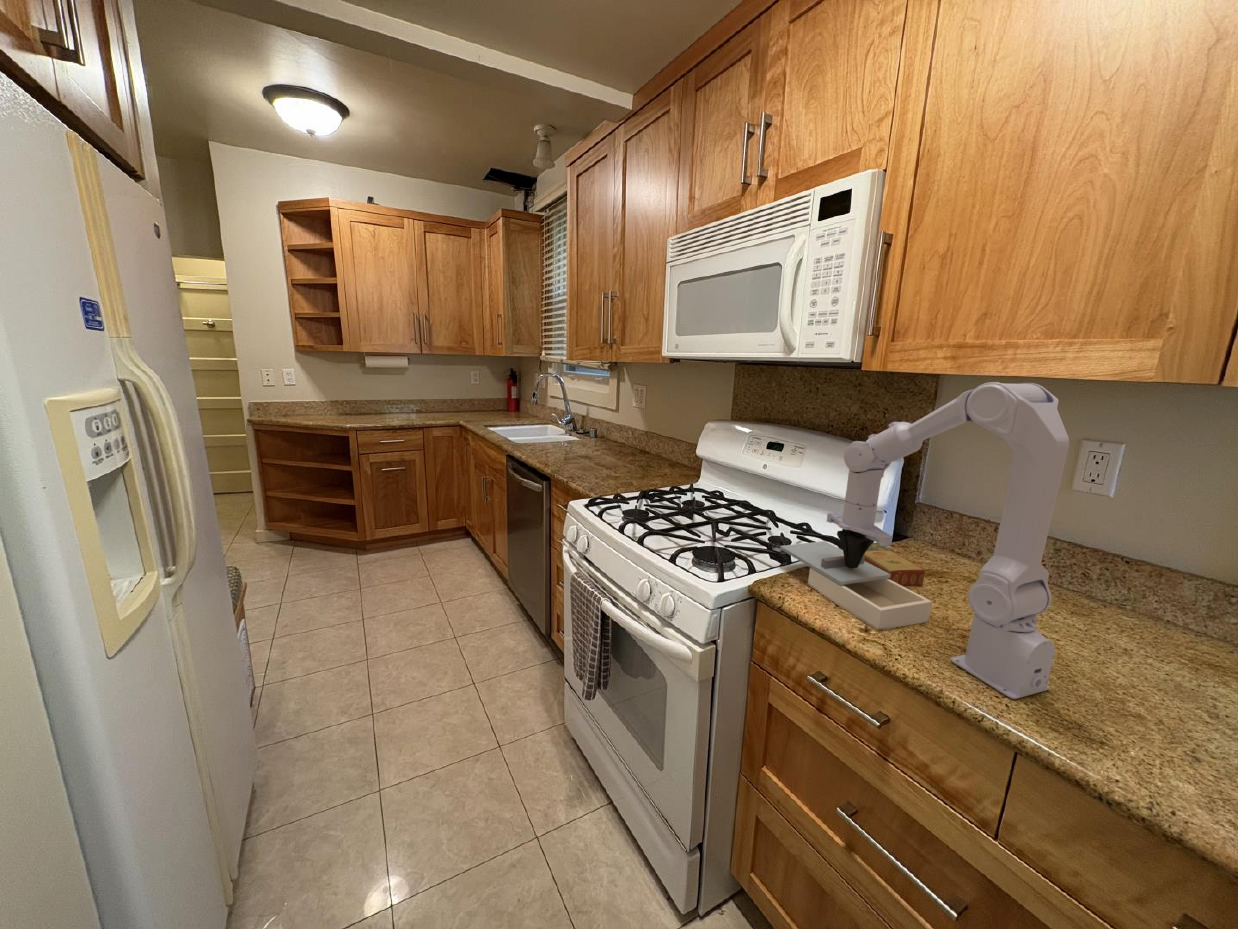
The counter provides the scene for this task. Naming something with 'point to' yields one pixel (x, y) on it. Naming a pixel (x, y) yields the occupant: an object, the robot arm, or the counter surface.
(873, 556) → the carton
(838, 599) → the base
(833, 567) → the lid
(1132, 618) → the counter surface
